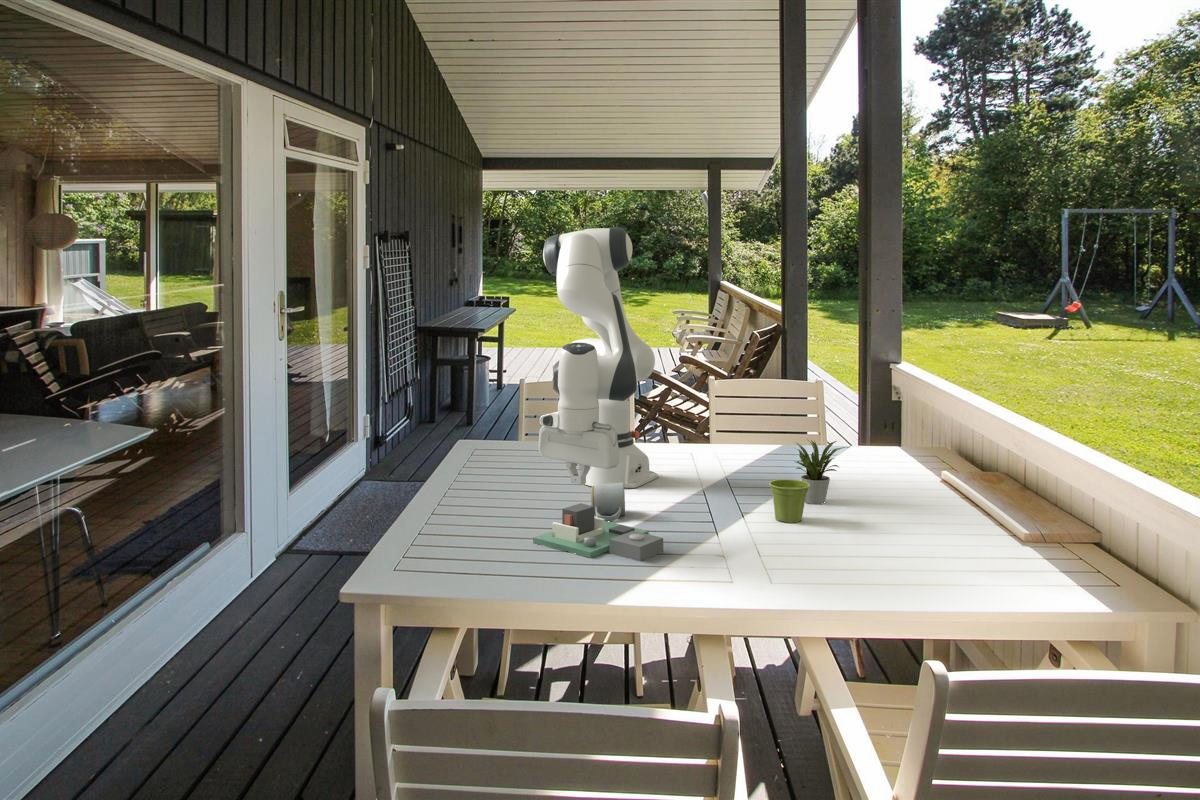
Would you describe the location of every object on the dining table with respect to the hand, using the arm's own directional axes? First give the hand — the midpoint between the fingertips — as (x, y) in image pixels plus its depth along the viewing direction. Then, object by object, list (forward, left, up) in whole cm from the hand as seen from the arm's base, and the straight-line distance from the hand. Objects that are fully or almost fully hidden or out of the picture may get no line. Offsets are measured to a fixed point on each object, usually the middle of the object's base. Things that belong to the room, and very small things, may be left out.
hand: (578, 483), depth 206 cm
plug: (0, 0, -11) cm, 11 cm away
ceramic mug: (-20, -7, -13) cm, 24 cm away
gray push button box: (-1, +15, -13) cm, 20 cm away
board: (-2, +2, -13) cm, 13 cm away
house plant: (-64, +25, -13) cm, 70 cm away
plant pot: (-44, +27, -13) cm, 53 cm away
